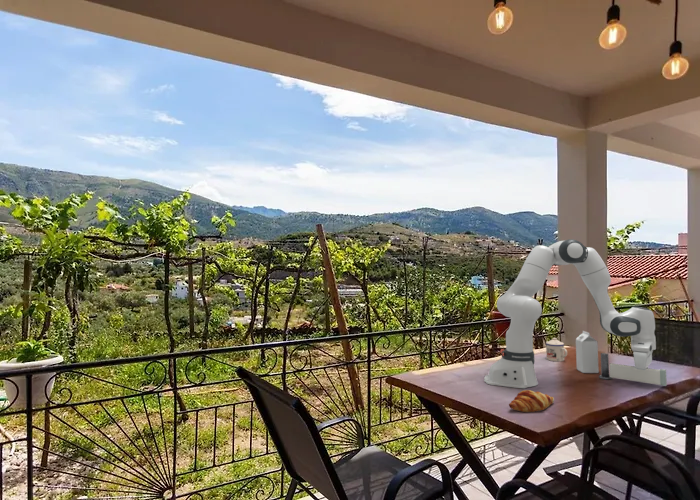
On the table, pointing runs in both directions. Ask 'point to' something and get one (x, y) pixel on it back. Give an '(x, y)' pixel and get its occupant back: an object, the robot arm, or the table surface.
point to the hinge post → (604, 367)
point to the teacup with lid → (555, 350)
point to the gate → (638, 374)
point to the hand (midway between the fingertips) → (644, 376)
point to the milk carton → (587, 353)
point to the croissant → (531, 401)
